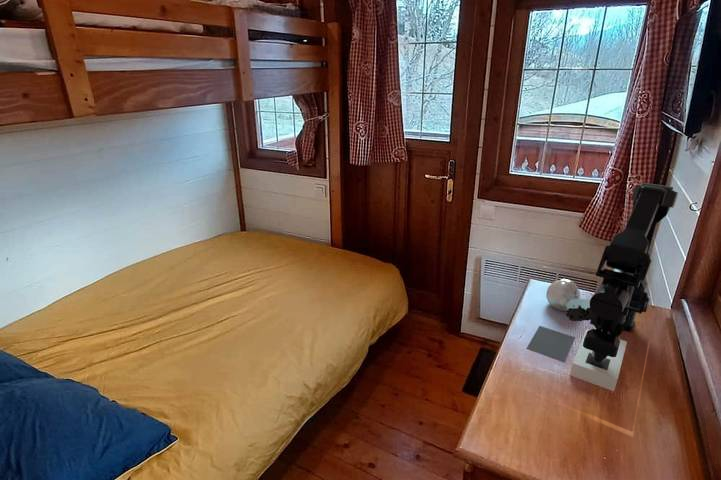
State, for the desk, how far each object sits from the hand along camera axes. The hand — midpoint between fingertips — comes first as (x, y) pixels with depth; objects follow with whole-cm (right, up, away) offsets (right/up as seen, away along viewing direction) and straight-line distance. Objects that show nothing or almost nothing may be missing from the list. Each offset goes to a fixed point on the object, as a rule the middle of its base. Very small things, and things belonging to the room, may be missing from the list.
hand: (598, 357), depth 98 cm
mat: (-5, 0, +12) cm, 13 cm away
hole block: (+2, -3, +5) cm, 6 cm away
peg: (0, -3, +1) cm, 3 cm away
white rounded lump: (+4, +6, +28) cm, 29 cm away
